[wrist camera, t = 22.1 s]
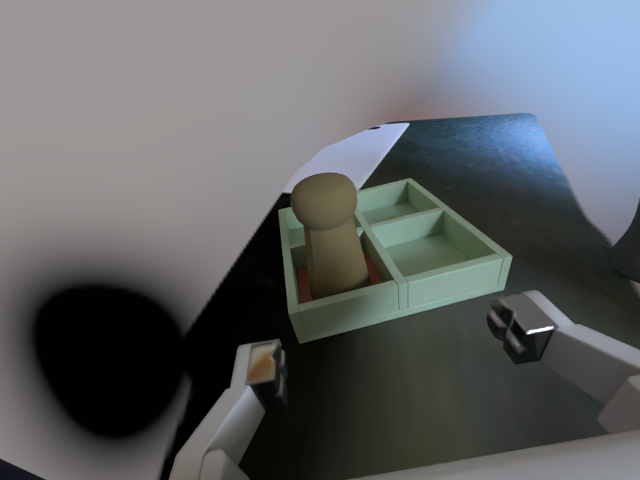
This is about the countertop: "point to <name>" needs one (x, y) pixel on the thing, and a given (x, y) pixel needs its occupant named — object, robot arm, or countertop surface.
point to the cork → (330, 234)
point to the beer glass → (628, 251)
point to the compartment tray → (394, 262)
